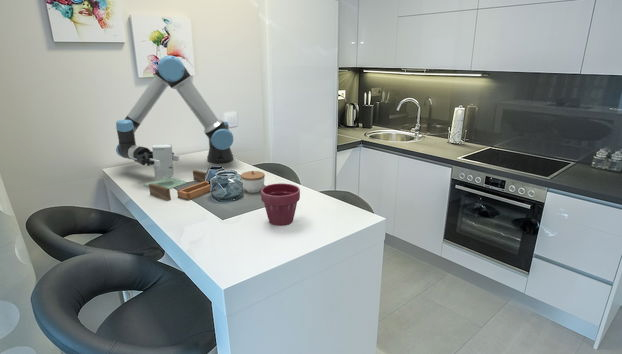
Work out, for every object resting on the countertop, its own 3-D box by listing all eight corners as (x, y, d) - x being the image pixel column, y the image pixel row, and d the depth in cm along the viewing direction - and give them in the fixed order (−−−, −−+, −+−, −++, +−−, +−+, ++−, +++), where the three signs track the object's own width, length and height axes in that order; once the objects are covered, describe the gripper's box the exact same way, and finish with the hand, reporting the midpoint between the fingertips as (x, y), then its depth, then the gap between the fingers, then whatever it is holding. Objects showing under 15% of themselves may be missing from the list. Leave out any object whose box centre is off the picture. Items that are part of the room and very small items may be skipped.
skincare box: (154, 178, 162) (150, 147, 158) (156, 174, 168) (152, 144, 163) (174, 177, 165) (170, 146, 160) (174, 173, 170) (171, 143, 166)
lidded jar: (263, 194, 156) (262, 174, 153) (239, 194, 157) (238, 174, 154) (266, 186, 167) (266, 167, 164) (244, 186, 167) (243, 167, 164)
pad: (169, 177, 177) (169, 176, 177) (188, 182, 170) (188, 182, 170) (144, 185, 166) (144, 184, 166) (163, 191, 159) (163, 190, 159)
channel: (196, 179, 175) (195, 169, 174) (212, 183, 169) (212, 174, 168) (150, 194, 155) (148, 184, 153) (167, 200, 149) (166, 189, 147)
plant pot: (280, 210, 141) (280, 180, 137) (307, 219, 132) (307, 188, 128) (254, 221, 130) (252, 189, 126) (281, 233, 122) (280, 199, 118)
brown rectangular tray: (206, 186, 165) (205, 180, 164) (215, 189, 162) (215, 183, 161) (177, 197, 152) (177, 190, 151) (187, 200, 149) (187, 194, 148)
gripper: (160, 156, 183) (189, 163, 172) (119, 166, 165) (148, 175, 154) (158, 142, 181) (187, 148, 169) (117, 151, 163) (146, 158, 152)
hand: (169, 161), depth 162 cm, fingers closed on skincare box, 9 cm apart
